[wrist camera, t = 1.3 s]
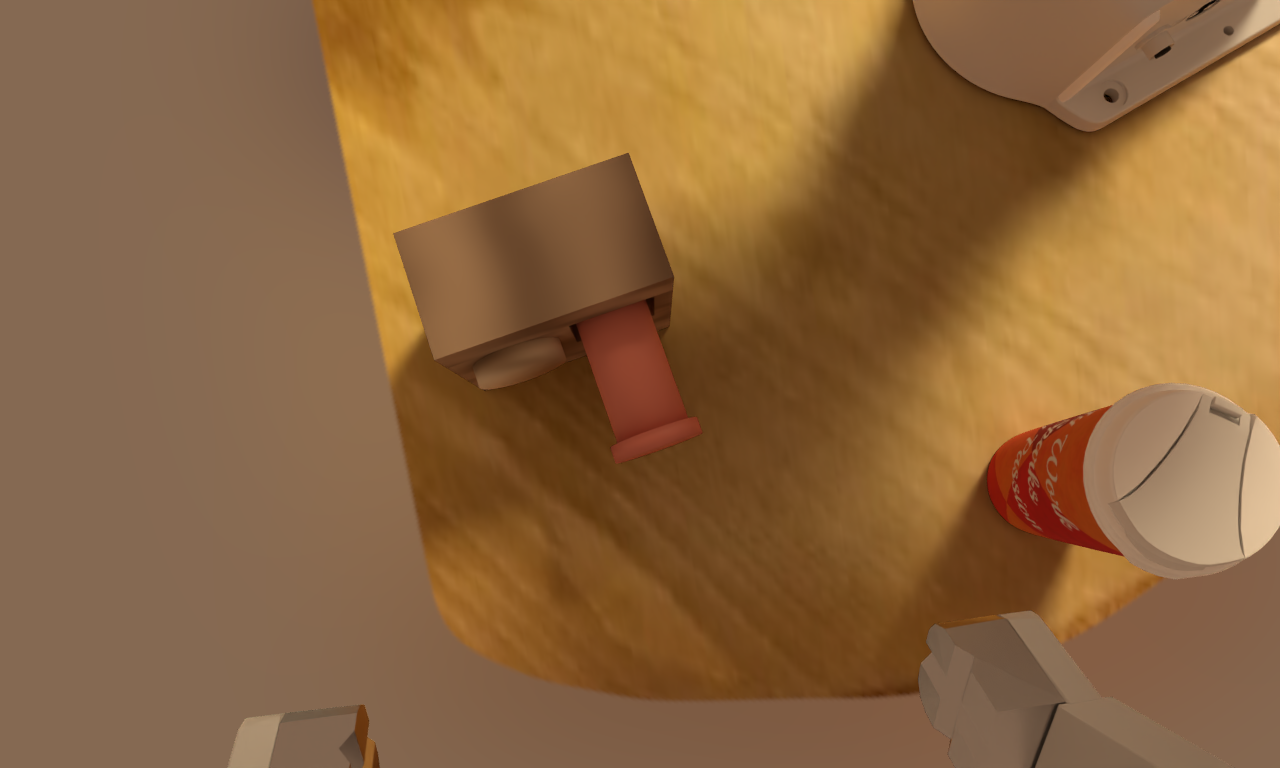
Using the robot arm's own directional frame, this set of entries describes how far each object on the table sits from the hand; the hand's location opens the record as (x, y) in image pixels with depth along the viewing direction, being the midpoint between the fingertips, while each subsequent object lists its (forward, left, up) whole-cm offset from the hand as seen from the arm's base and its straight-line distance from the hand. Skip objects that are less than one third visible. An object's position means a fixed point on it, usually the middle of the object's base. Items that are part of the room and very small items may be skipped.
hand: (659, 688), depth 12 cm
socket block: (+1, -14, -34) cm, 37 cm away
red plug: (-2, -10, -30) cm, 32 cm away
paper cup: (-21, +4, -35) cm, 41 cm away
